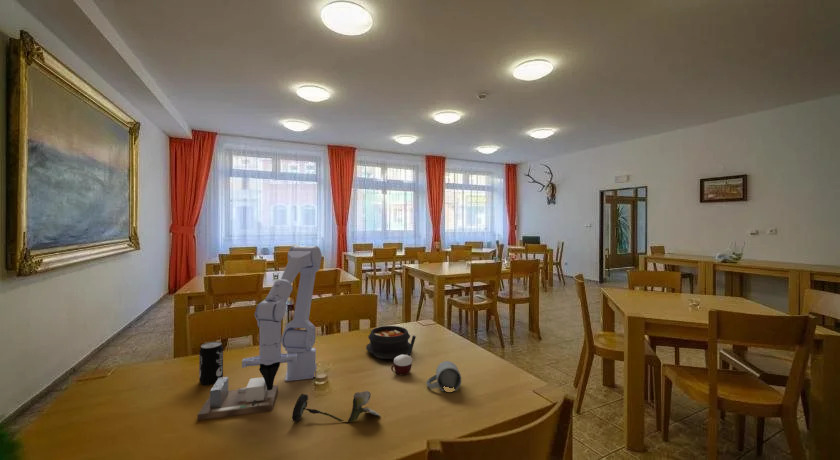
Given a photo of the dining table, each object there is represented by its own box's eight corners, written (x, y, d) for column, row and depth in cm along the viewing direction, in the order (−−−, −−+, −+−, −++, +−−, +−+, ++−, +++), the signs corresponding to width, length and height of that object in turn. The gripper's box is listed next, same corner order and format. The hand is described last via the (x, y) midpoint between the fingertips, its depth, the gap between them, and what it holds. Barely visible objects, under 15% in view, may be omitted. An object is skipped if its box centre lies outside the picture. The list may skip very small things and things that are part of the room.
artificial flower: (301, 414, 94) (310, 376, 96) (380, 429, 92) (387, 389, 94) (287, 424, 85) (297, 381, 88) (374, 440, 83) (382, 396, 86)
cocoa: (392, 378, 114) (391, 344, 113) (389, 370, 120) (388, 337, 119) (419, 375, 116) (418, 340, 115) (415, 366, 122) (414, 334, 121)
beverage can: (211, 386, 106) (211, 348, 106) (194, 384, 108) (194, 347, 107) (227, 377, 113) (227, 341, 112) (210, 375, 114) (210, 340, 114)
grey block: (228, 393, 99) (228, 376, 99) (220, 408, 91) (220, 389, 91) (218, 394, 98) (218, 377, 98) (210, 409, 91) (210, 390, 90)
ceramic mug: (457, 380, 112) (457, 357, 112) (461, 392, 104) (461, 368, 104) (425, 381, 112) (425, 358, 111) (427, 394, 103) (427, 369, 103)
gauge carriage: (266, 390, 101) (266, 376, 101) (262, 404, 93) (262, 390, 93) (241, 393, 99) (241, 379, 99) (233, 408, 91) (233, 393, 91)
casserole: (416, 362, 127) (417, 340, 127) (366, 365, 124) (367, 342, 124) (407, 340, 152) (407, 321, 151) (365, 342, 148) (365, 323, 148)
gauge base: (277, 389, 105) (277, 384, 105) (272, 410, 93) (272, 404, 93) (211, 397, 100) (211, 392, 100) (197, 420, 88) (197, 414, 88)
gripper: (239, 349, 92) (239, 398, 92) (295, 344, 96) (295, 391, 97) (245, 340, 99) (244, 386, 99) (297, 336, 103) (297, 380, 103)
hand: (270, 388), depth 98 cm, fingers closed
